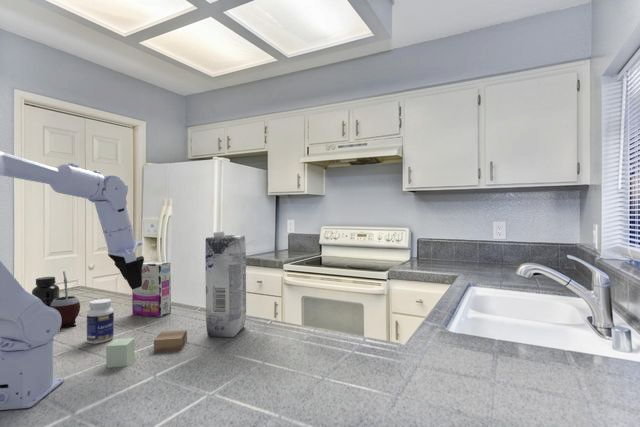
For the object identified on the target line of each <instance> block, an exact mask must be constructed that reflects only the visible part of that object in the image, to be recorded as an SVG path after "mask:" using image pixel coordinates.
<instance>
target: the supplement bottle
mask: <svg viewBox="0 0 640 427" xmlns="http://www.w3.org/2000/svg"><path fill="white" fill-rule="evenodd" d="M56 282H57V281H56V277H55V276H43V277H42V276H41V277H37V278H35V286H36V287H34V288H33V289H32V290H31V294H32V295H34V296H36V297H37V298H39V299H40V300H41V301H42V302H43V303H44V304H45V305H46V306H48V307H50V306H51V303H52V301H53V300H54V299H56V298H60V297H61V296H60V287H59V286H58V284H56Z"/></svg>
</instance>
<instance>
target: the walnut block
mask: <svg viewBox="0 0 640 427" xmlns="http://www.w3.org/2000/svg"><path fill="white" fill-rule="evenodd" d="M187 341H188V329H179V330H165V331H161V332H159V334H158V335H157V336H156V337H155V338H154V339H153V353H161V352H171V351H172V352H174V351H182V350H183V348H184V347H185V345H186V343H187Z"/></svg>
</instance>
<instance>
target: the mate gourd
mask: <svg viewBox="0 0 640 427" xmlns="http://www.w3.org/2000/svg"><path fill="white" fill-rule="evenodd" d="M62 275H63V284H64V295H65V296H60V298H56V299H54V300H53V301H52V303H51V306H50V307H51V308H54V309H56V310H57V311H58V312H59V313H60V315H61V318H62V324H61V327H60V329H62V328H66V327H67V328H75V327H76V326H77V324H76V319H78V318H77V317H78V316H79V315H80V310H81V303H80V302H81V301H80V299H79V298H78V297H77V296H74V295H70V296H69V295H68V293H69V292H68V279H67V274H66V271H62Z"/></svg>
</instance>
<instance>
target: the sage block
mask: <svg viewBox="0 0 640 427" xmlns="http://www.w3.org/2000/svg"><path fill="white" fill-rule="evenodd" d="M135 346H136V345H135V337H128V338H115V339H113V340H111V342H110V343H109V344H107V345H106V347H105V351H106V353H105V355H106V359H105V360H106V364H105V365H106V368H107V369H108V368H118V367H119V368H120V367H121V368H122V367H128V366H129V365H130V364H131V363H132V361H134V360H135V358H136V357H135V355H136V352H135V349H136V348H135Z"/></svg>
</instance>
